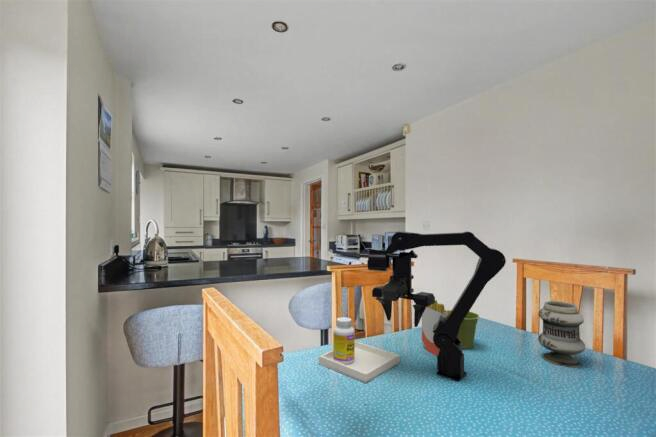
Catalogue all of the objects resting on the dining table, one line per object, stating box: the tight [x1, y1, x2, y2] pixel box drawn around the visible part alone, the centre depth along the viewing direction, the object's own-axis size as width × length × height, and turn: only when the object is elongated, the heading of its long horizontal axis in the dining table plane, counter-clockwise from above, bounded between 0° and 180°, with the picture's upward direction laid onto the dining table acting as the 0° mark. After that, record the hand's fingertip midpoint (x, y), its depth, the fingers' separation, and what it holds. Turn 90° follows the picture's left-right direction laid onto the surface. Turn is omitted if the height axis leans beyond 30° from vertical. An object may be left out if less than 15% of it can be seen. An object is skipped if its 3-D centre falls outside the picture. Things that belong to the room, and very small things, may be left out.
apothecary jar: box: [537, 300, 586, 368], centre depth 101 cm, size 12×12×18 cm
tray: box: [318, 340, 401, 384], centre depth 98 cm, size 18×18×2 cm
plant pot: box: [446, 309, 480, 350], centre depth 113 cm, size 12×12×11 cm
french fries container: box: [421, 299, 451, 357], centre depth 107 cm, size 5×11×18 cm, turn 17°
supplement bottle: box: [332, 316, 356, 364], centre depth 98 cm, size 7×7×13 cm
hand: (402, 323), depth 96 cm, fingers open, 9 cm apart
